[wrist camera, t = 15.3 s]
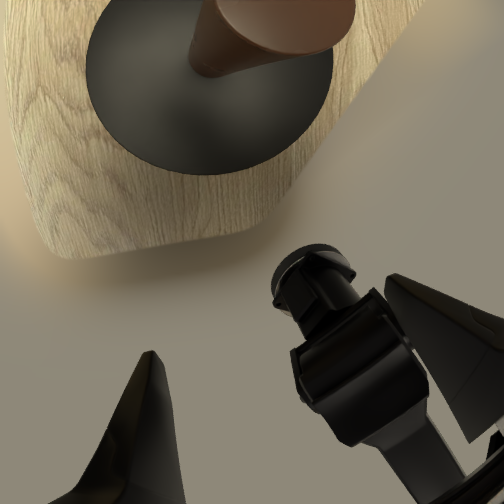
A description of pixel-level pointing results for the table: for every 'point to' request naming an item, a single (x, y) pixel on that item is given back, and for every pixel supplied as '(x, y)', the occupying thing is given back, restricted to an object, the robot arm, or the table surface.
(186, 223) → the table surface
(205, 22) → the lid
